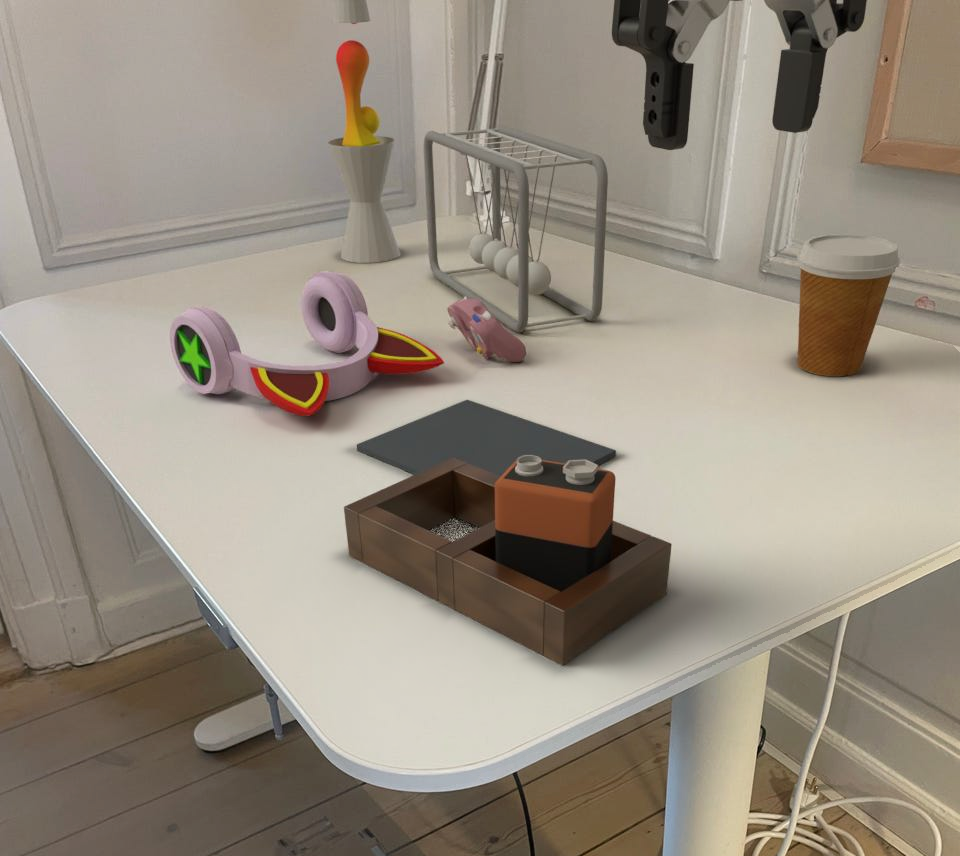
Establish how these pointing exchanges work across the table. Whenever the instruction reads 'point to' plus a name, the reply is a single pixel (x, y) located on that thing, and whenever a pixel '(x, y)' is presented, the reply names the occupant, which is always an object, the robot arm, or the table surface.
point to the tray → (490, 585)
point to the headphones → (298, 389)
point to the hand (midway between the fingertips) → (731, 139)
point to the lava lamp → (361, 152)
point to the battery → (554, 519)
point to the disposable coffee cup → (841, 299)
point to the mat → (477, 441)
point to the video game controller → (484, 331)
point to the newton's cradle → (490, 248)
